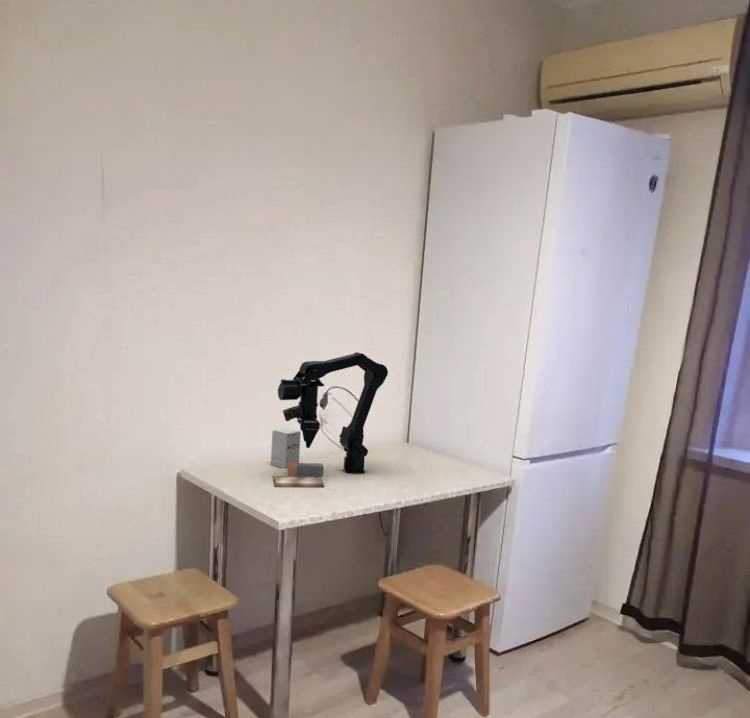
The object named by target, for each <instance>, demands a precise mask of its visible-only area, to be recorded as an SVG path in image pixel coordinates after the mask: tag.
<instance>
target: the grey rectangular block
mask: <svg viewBox="0 0 750 718" xmlns="http://www.w3.org/2000/svg"><path fill="white" fill-rule="evenodd" d="M286 476H306V477H321V478H322V477H324V464H323V463H316V462H315V463H314V462H313V463H311V462H308V463H307V462H305V463H303V462H299V463H294V462H287V468H286Z"/></svg>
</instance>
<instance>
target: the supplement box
mask: <svg viewBox="0 0 750 718" xmlns="http://www.w3.org/2000/svg"><path fill="white" fill-rule="evenodd" d="M271 437H272V438H271V454H270V465H272V466H275V467H279V468H282V469H287V462H294V463H300V452H301V451H300V450H301V449H300V448H301V430H299V429H294V428H288V427H285V428H278V429H273V430H272V433H271Z"/></svg>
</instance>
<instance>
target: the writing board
mask: <svg viewBox="0 0 750 718" xmlns="http://www.w3.org/2000/svg"><path fill="white" fill-rule="evenodd" d="M272 481H273V486H274V488H325V484H324V482H323V480H322V477H319V476H287V475H285V476H284V475H283V476H282V475H280V476H279V475H273V476H272Z"/></svg>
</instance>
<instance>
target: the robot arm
mask: <svg viewBox="0 0 750 718" xmlns="http://www.w3.org/2000/svg"><path fill="white" fill-rule="evenodd" d="M356 366H357V367H359V368H360V369H361V370H362V371H364V375H363V384H364V385H363V388H362V391H361V393H360V396H359V399H358V402H357V404H356V407H355V410H354V412H353V415H352V418H351V420H350V423H349V424H348V425H347V426H345V425H343V427H342V428H341V433H340V435H339V436H338V437H339V443H340V446H342V448H343V450H344V452H345V456H344V457H343V470H344V471H345V473H349V474H365V472H366V471H365V457H367V456H368V453H369V450H368V448H367V447H366V446H365V445H364V438H365V437H364V436H365V435H364V429H365V427H364V426H365V424H366V421H367V418H368V415H369V413H370V410H371V408H372V405H373V403H374V399H375V396H376V393H377V391H378V389H379V388H380V387H382V385H383V384H384V383H385V382H386V381H385V380H386V379H387V377H388V375H389V370H388V368H387V366H386V365H384V364H381V363H379V362H376V361H374V360H373V359H371V358H369V356H367V355H366V354H364V353H361V352H354V353H351V354H348V355H343V356H340V357H335V358H331V359H328V360H310V361H309V360H308V361H307V360H306V361H304V362H302V363H301V365H300V366H299V370H298V371H297V373H296V374H295V376H294V377H293V379H286V378H285V379H284V378H283V379H281V380H280V383H279V385H278V388H277V396H278V399H279V400H280V401H295V400H298V399H299V401H298V405H295V406H292V407H290V408H289V407H288V408H286V409H283V410H282V413H283V417H284V419H285V421H286V422H290V421H291V420H293V419H296V420H297V423H298V424H299V428H300V431H302V437H303V442H305V447H306V449H309V448H311V446H312V444H313V441H315V438H316V436H317V434H318V432H319V431H320V427H321V423H320V422H319V420H318V413H317V412H318V407H319V403H318V396H319V395H318V392H319V387H324V386H325V384H324V383H323V382H322V381H321V379H322V378H324V377H325V376H326V375H328V374H330V373H333V372H336V371H337V372H338V371H340V370H344V369H345V370H346V369H348V368H352V367H356Z"/></svg>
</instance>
